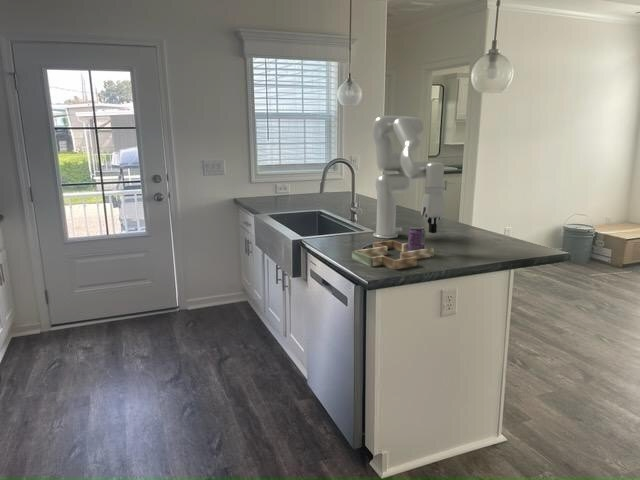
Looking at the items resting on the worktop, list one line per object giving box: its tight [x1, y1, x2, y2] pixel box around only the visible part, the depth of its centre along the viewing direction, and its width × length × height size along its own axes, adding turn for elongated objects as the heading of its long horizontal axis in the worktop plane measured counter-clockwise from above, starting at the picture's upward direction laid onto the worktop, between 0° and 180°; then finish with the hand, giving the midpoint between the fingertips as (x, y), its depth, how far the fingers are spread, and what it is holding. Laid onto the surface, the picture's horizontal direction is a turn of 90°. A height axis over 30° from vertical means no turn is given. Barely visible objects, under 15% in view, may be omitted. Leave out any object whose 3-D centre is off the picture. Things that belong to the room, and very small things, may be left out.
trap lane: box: [351, 239, 435, 270], centre depth 204 cm, size 33×29×4 cm
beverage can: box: [407, 225, 426, 252], centre depth 209 cm, size 7×7×12 cm
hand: (432, 232), depth 212 cm, fingers closed
